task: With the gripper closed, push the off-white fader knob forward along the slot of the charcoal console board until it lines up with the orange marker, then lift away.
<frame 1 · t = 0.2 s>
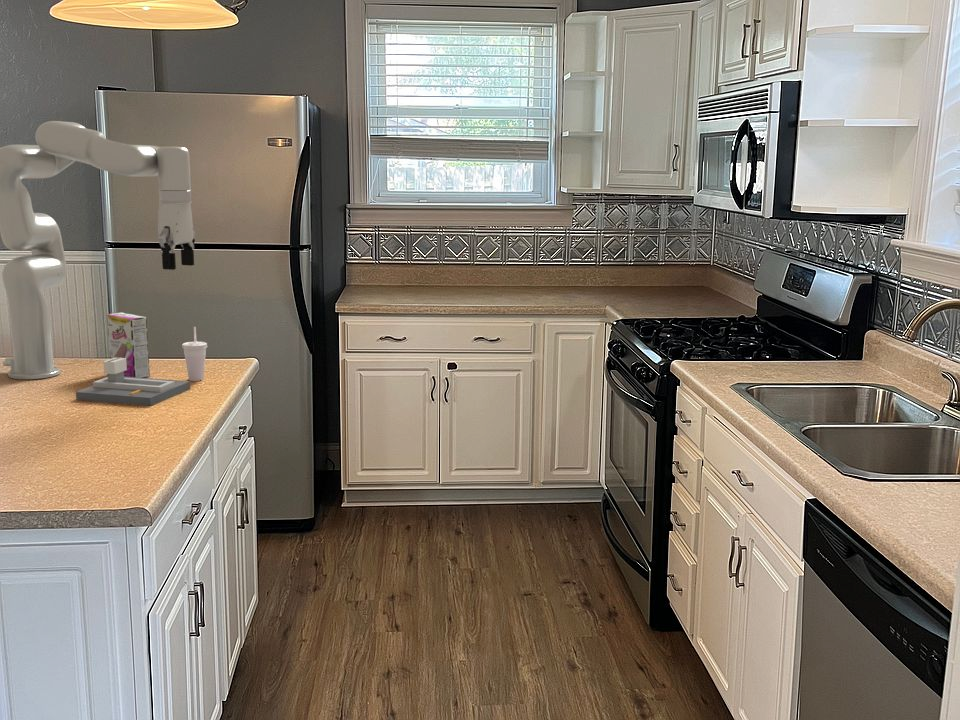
hand: (178, 267, 239), 31 cm above the countertop, tool pointing down, fingers open, 9 cm apart
fader knob: (115, 371, 236), point 6 cm above the countertop, slide at -5.0 cm
console board: (134, 394, 236), on the countertop
smoothie: (196, 380, 253), on the countertop
candy bar box: (130, 376, 257), on the countertop
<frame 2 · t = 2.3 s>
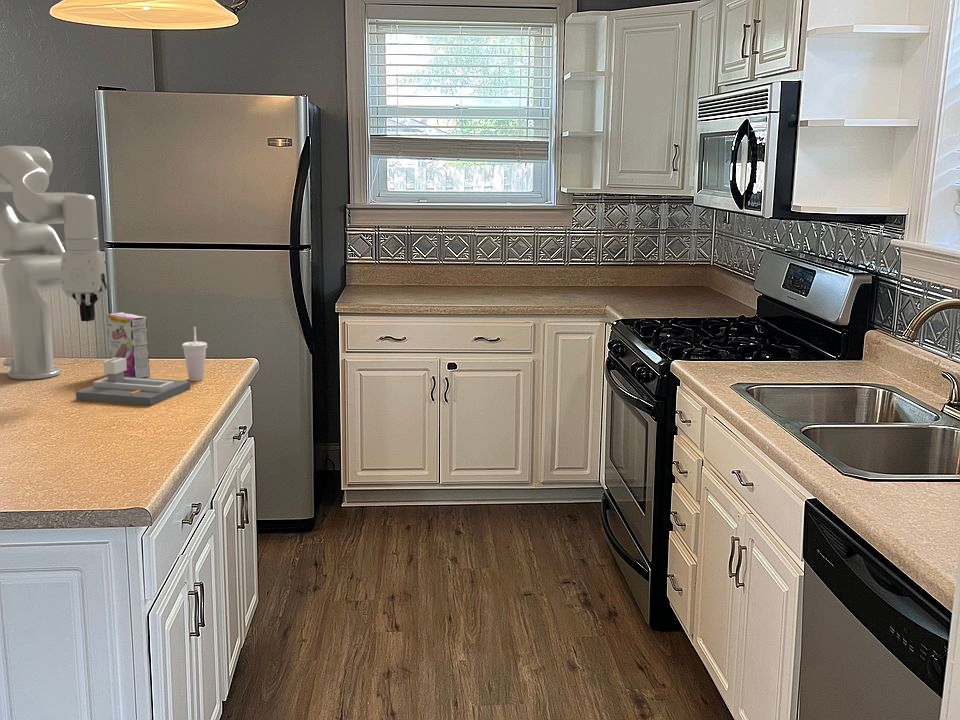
hand: (87, 320, 235), 18 cm above the countertop, tool pointing down, fingers closed
nothing on the countertop moved.
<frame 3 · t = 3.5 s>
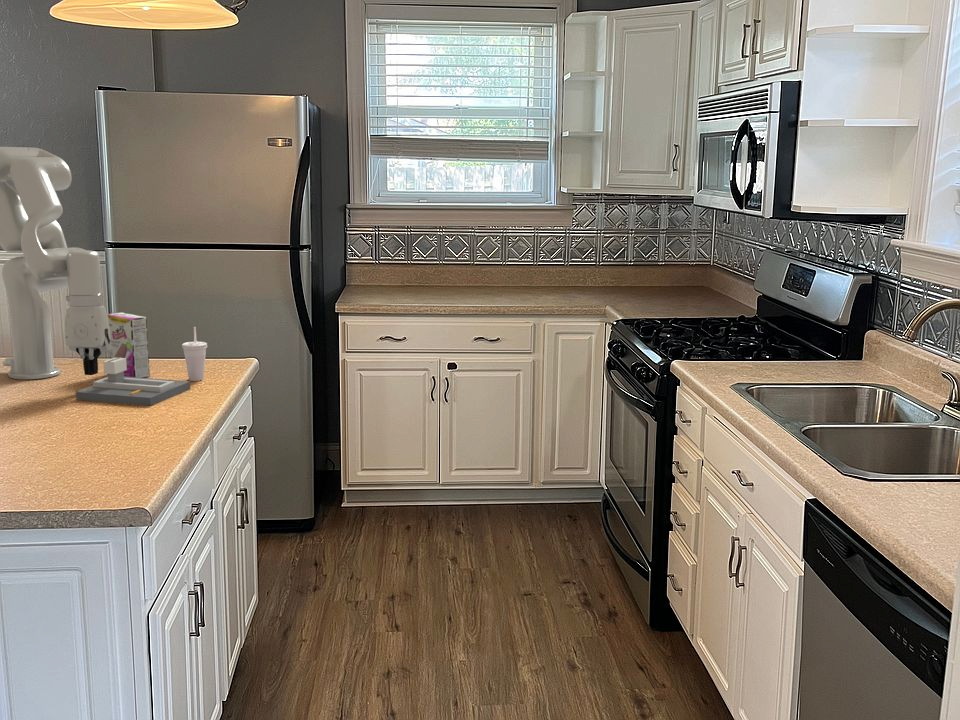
hand: (91, 373, 238), 4 cm above the countertop, tool pointing down, fingers closed
nothing on the countertop moved.
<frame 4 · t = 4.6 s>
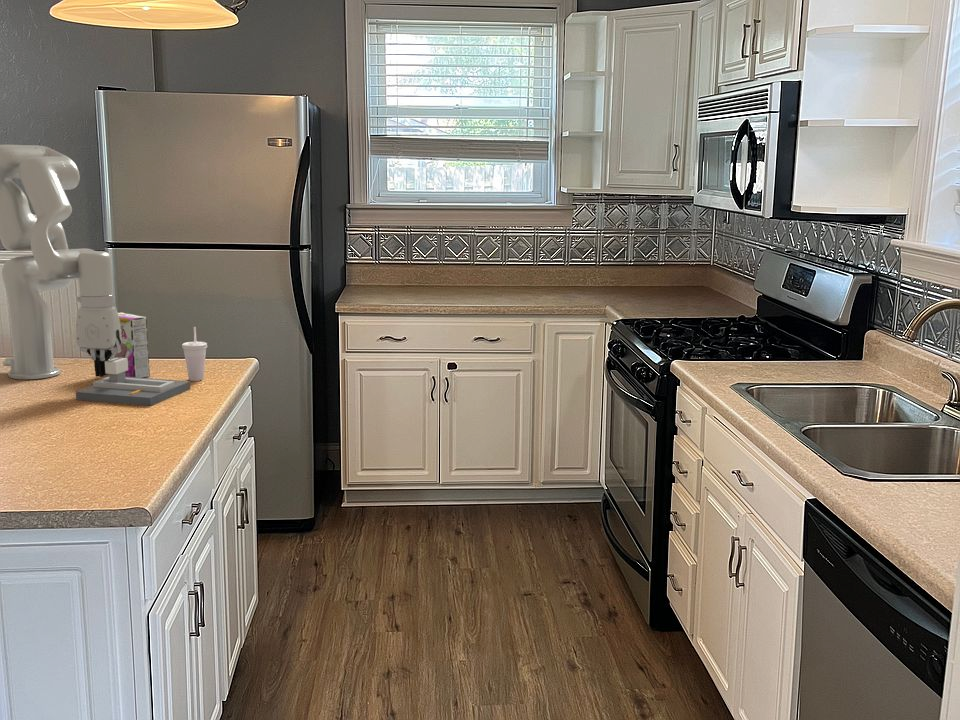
hand: (102, 375, 237), 4 cm above the countertop, tool pointing down, fingers closed
fader knob: (116, 371, 236), point 6 cm above the countertop, slide at -4.6 cm, touching gripper
everything else where it was.
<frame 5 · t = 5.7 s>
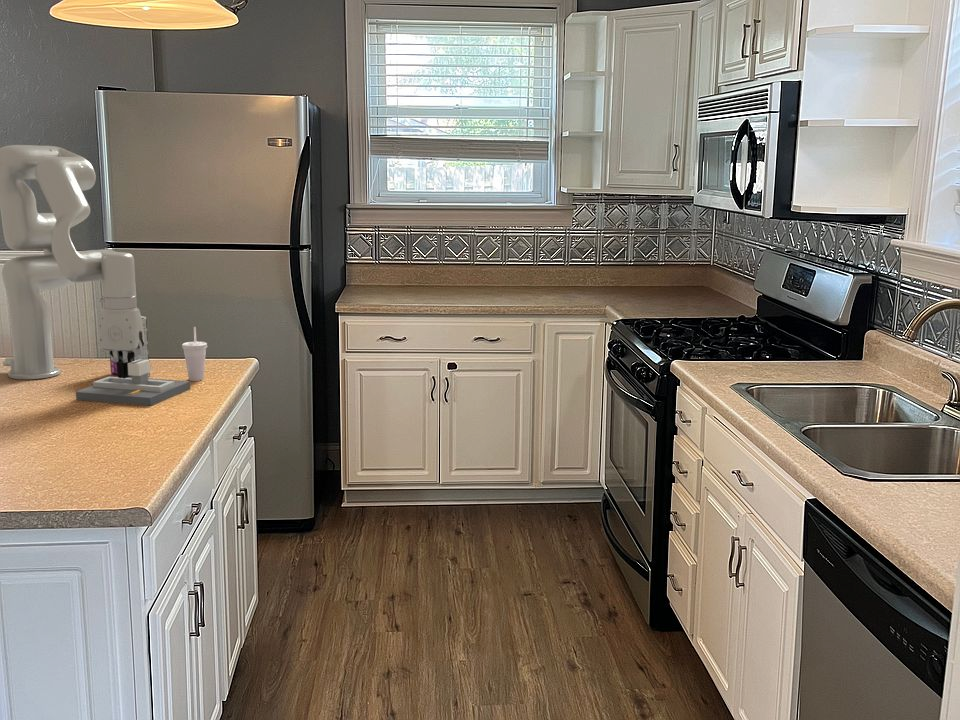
hand: (124, 376, 236), 4 cm above the countertop, tool pointing down, fingers closed
fader knob: (139, 373, 235), point 6 cm above the countertop, slide at 1.7 cm, touching gripper
everything else where it was.
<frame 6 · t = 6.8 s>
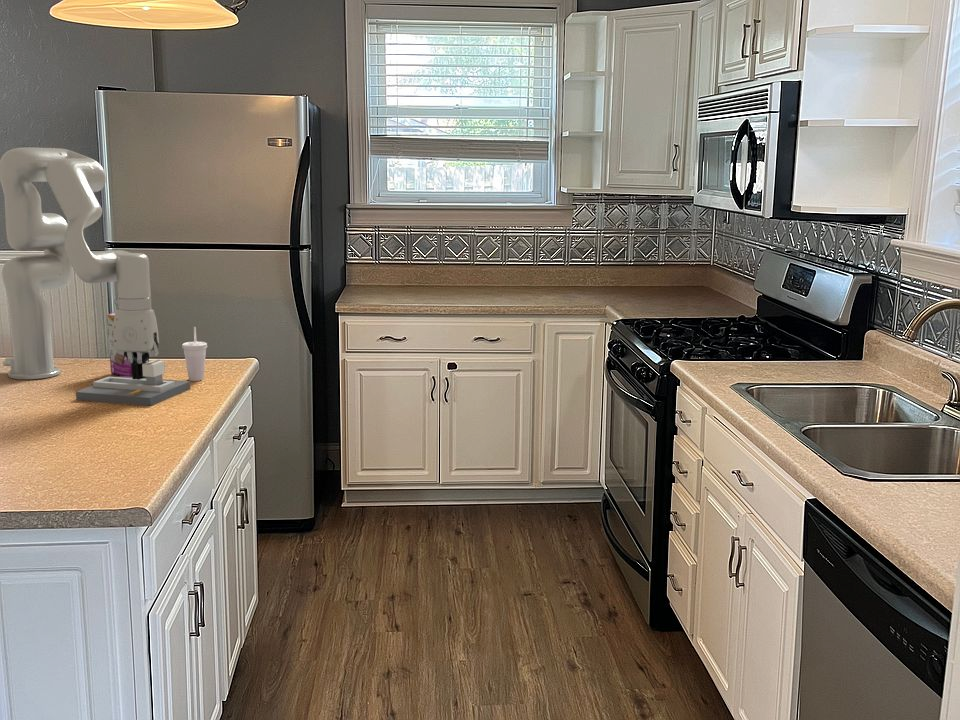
hand: (139, 378, 235), 4 cm above the countertop, tool pointing down, fingers closed
fader knob: (154, 374, 234), point 6 cm above the countertop, slide at 5.7 cm, touching gripper
everything else where it was.
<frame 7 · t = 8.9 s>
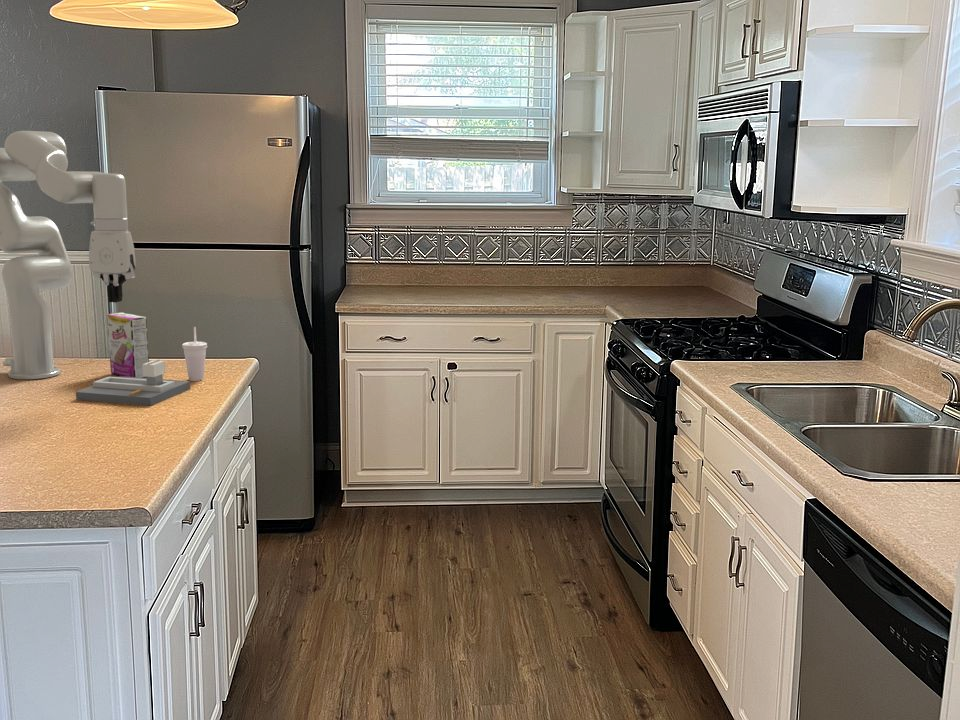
hand: (115, 301, 233), 23 cm above the countertop, tool pointing down, fingers closed
fader knob: (154, 374, 234), point 6 cm above the countertop, slide at 5.7 cm
everything else where it was.
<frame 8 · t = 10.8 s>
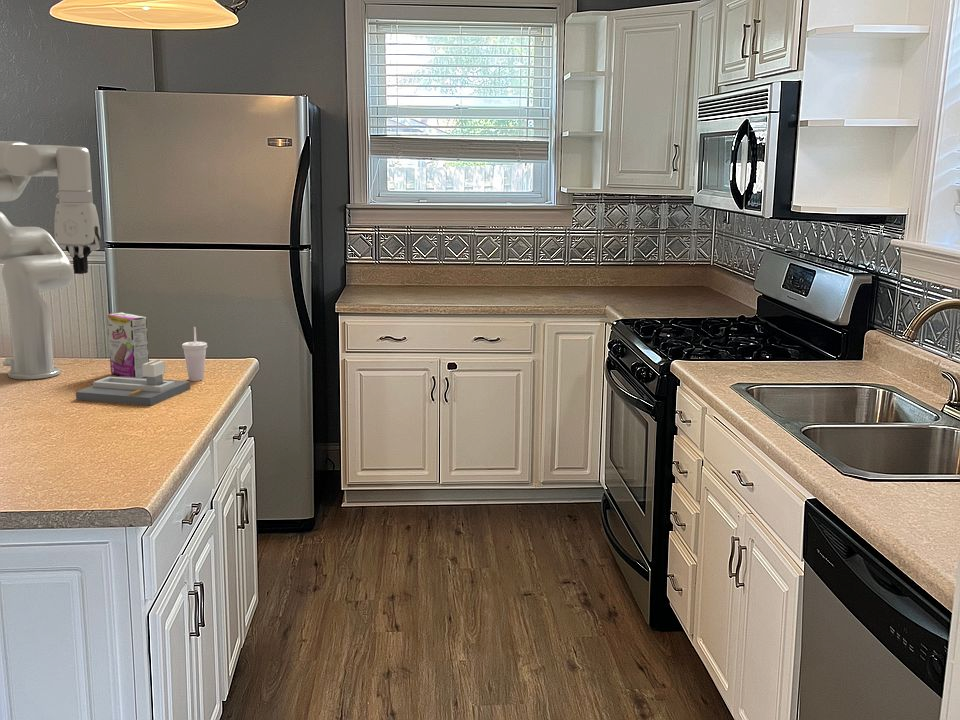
hand: (81, 273, 237), 29 cm above the countertop, tool pointing down, fingers closed
nothing on the countertop moved.
at the end: fader knob slide at 5.7 cm; the gripper is holding nothing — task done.
